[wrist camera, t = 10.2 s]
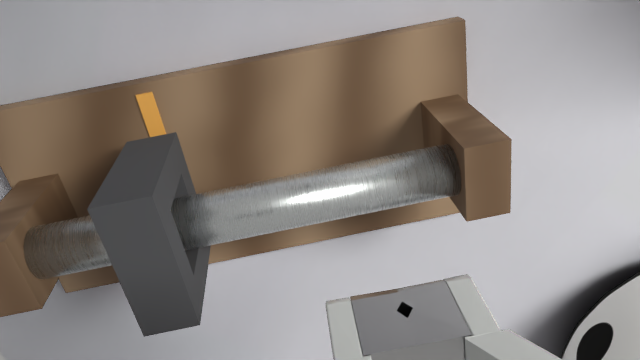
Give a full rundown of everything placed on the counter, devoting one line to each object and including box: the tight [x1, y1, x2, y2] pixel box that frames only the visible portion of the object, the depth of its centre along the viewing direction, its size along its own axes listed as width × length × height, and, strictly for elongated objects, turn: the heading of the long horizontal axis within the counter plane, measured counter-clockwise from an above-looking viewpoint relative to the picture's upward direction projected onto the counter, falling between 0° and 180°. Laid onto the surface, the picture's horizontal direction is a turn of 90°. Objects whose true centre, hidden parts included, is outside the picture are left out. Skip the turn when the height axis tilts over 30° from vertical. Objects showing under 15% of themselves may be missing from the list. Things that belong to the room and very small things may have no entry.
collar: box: [87, 132, 211, 336], centre depth 23 cm, size 2×6×6 cm, turn 10°
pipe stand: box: [0, 17, 511, 317], centre depth 25 cm, size 24×11×7 cm, turn 100°
